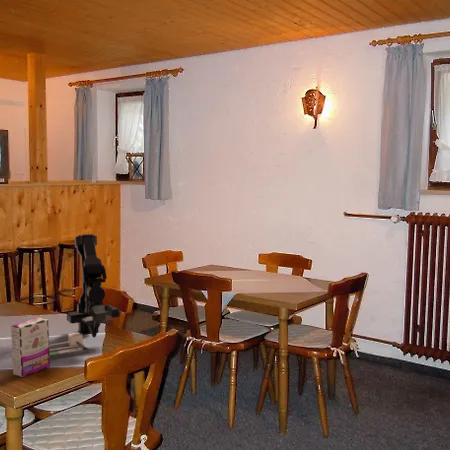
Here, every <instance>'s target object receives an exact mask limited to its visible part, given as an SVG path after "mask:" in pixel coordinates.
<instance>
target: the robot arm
mask: <svg viewBox="0 0 450 450" xmlns="http://www.w3.org/2000/svg"><path fill="white" fill-rule="evenodd" d="M74 246H75V247H76V252H77V253H78V255H79V256H80V260H81V261H80V262H81V263H80V266H81V284H82V293H81V294H80V297H79V299H78V303H77V307H76V308H77V309H76V311H71V312H67V314H66V321H67V322H68V323H70V324H78V331H79V333H80V334H82V335H86V334H87V335H88V334H91V337H92V338H96V337H97V334H98V332H100V331H99V328H100V326H101V324H102V323H103V322H105V321H106V320H107V318H108V316H110V317H111V318H119V317H120V316H121V311H120V309H119V308H117V307H116V306H112V305H111V304H106V305H104V302H103V301H104V299H105V298H106V291H105V289H104V288H103V287H102V283H106V280H107V271H106V267H105V264H103V262H102V260H101V259H100V258H99V257H98V255H97V252H96V246H98V236H96V235H95V234H92V233H91V234H90V233H88V234H86V233H85V234H78V235H77V236H75V237H74Z"/></svg>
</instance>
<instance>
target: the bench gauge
mask: <svg viewBox="0 0 450 450" xmlns="http://www.w3.org/2000/svg"><path fill="white" fill-rule="evenodd" d="M88 353H89V349H88V348H87V347H86V346H85V344H81V346H79V345H75V346H69V345H68V340H66V341H62V342H61V341H60V342H55V343H54V342H53V343H49V355H50V360H56V359H60V358H66V357H71V356H77V355H82V354H83V355H84V354H88Z"/></svg>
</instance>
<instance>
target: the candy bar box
mask: <svg viewBox="0 0 450 450" xmlns="http://www.w3.org/2000/svg"><path fill="white" fill-rule="evenodd" d="M10 334H11V337H10V338H11V351H12V352H11V355H12V357H11V358H12V373H13V376H17V377H19V378H24V377H27V376H31V375H32V374H35V373H39V372H41V371H43V370H45V369H48V368H50V367H51V361H50V360H51V359H50V355H49V344H50V335H49V334H50V333H49V318H43V317H40V316H39V317H35V318H32V319H28V320H26V321H22V322H17V323H15V324H11V325H10Z"/></svg>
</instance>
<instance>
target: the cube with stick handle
mask: <svg viewBox="0 0 450 450" xmlns="http://www.w3.org/2000/svg"><path fill="white" fill-rule="evenodd" d="M67 335H68V336H67V339H68V340H67V341H68V345H69V346H75V345H79V346H81V344H83V343H84V342H83V339H84V338H83V335H84V334H82V333H81V332H80V331H79V332H73V333H68V334H67ZM83 345H84V344H83Z"/></svg>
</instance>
